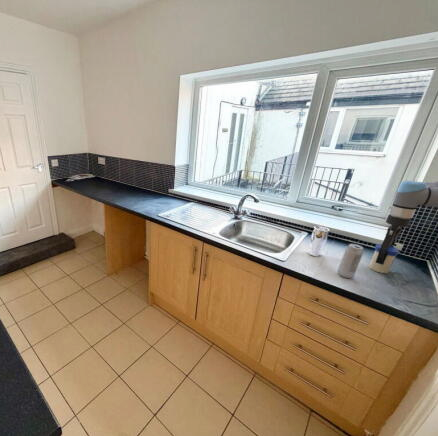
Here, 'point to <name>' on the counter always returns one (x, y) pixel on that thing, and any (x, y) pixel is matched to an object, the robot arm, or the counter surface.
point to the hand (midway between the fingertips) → (382, 260)
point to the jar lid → (391, 251)
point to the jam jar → (379, 267)
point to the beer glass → (318, 240)
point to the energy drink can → (350, 260)
